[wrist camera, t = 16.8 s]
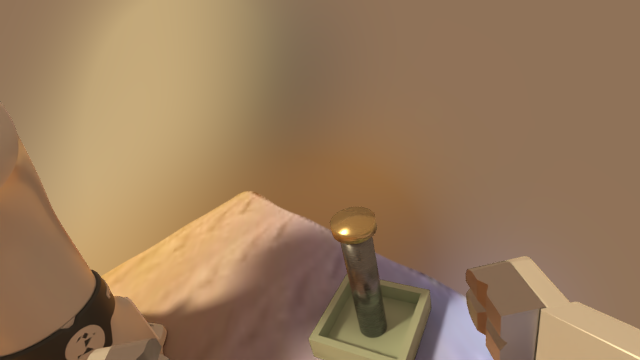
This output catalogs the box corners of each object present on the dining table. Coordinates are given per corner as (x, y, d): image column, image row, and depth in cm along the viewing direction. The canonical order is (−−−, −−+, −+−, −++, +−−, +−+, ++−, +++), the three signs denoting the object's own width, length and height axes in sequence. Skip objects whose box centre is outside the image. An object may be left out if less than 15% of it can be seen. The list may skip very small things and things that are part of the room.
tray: (314, 356, 44) (308, 339, 42) (351, 289, 51) (347, 272, 50) (405, 387, 38) (402, 369, 37) (431, 308, 46) (429, 290, 45)
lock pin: (348, 336, 44) (322, 230, 37) (362, 307, 47) (341, 204, 40) (385, 347, 42) (365, 237, 34) (397, 316, 45) (381, 209, 38)
